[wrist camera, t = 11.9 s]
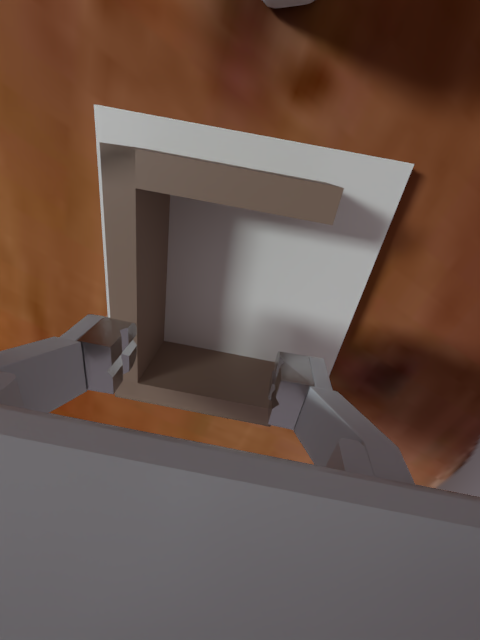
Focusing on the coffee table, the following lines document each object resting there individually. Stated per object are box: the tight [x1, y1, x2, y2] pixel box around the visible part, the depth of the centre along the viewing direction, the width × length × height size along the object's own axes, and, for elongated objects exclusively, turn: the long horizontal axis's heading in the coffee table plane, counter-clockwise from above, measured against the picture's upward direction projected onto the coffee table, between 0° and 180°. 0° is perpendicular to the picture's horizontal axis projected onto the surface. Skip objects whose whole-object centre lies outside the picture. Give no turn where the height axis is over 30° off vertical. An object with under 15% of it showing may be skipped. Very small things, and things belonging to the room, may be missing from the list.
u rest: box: [94, 104, 414, 426], centre depth 14 cm, size 14×14×5 cm
